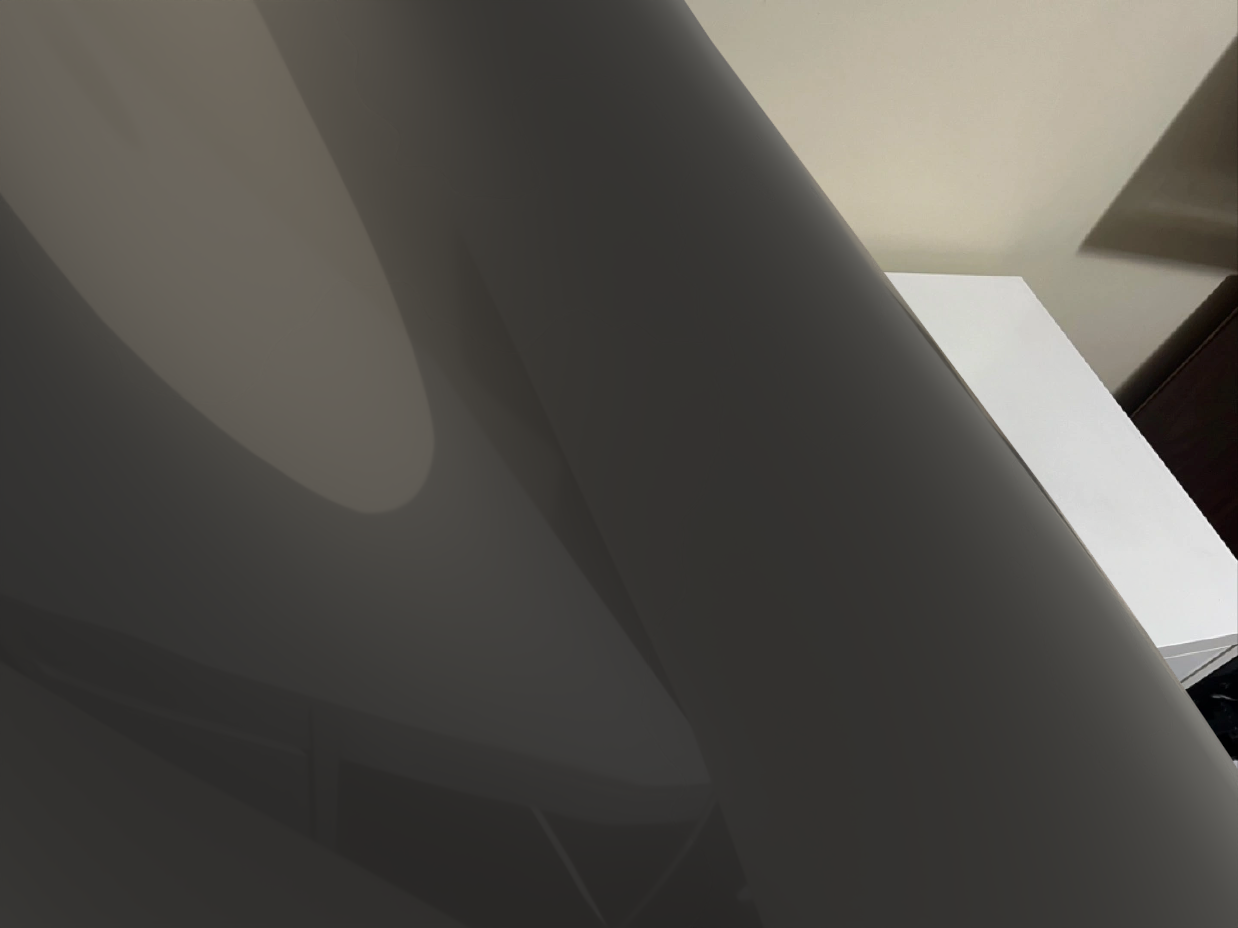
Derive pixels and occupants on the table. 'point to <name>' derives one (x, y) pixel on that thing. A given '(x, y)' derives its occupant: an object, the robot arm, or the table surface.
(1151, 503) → the table surface
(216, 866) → the robot arm
